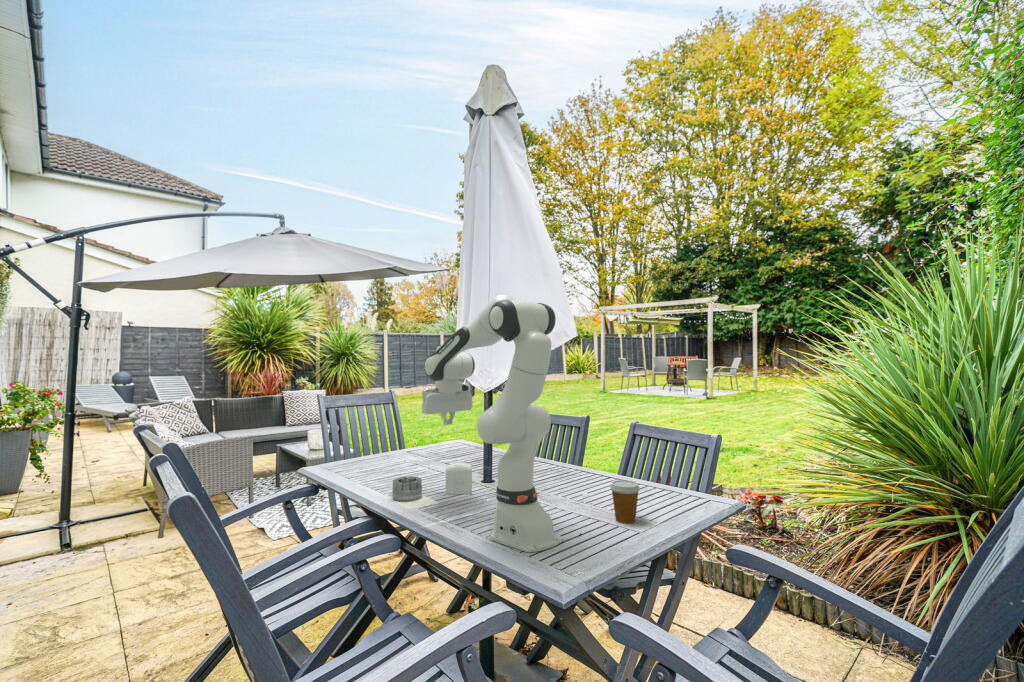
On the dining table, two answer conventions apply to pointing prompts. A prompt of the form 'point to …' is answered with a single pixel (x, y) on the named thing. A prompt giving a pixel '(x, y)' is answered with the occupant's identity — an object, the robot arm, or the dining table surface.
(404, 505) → the board
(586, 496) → the dining table surface
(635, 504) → the disposable coffee cup
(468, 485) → the photo printer
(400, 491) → the grey castle nut
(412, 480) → the cap
